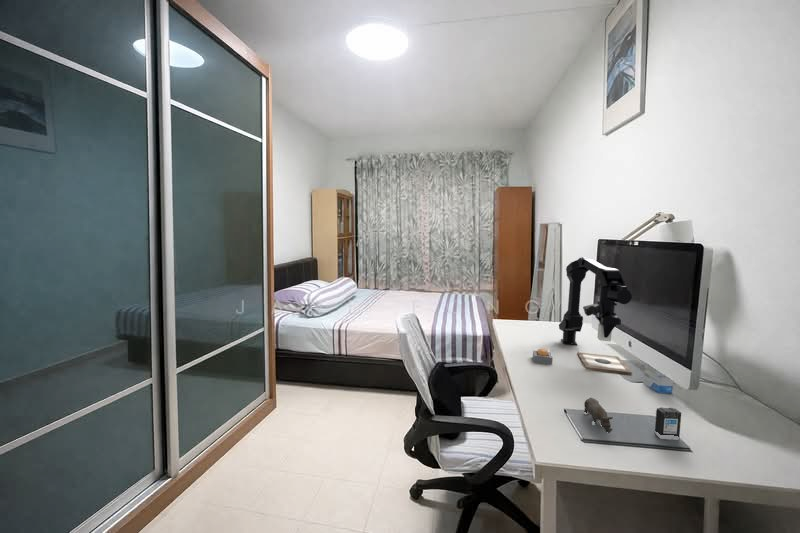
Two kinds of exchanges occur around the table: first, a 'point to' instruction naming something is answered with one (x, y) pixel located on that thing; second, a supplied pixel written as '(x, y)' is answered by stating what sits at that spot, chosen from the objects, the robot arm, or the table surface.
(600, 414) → the grey animal figure
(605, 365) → the wooden picture frame
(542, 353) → the button
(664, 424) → the ink cartridge
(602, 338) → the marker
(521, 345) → the table surface
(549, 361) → the button housing
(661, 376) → the ink box
